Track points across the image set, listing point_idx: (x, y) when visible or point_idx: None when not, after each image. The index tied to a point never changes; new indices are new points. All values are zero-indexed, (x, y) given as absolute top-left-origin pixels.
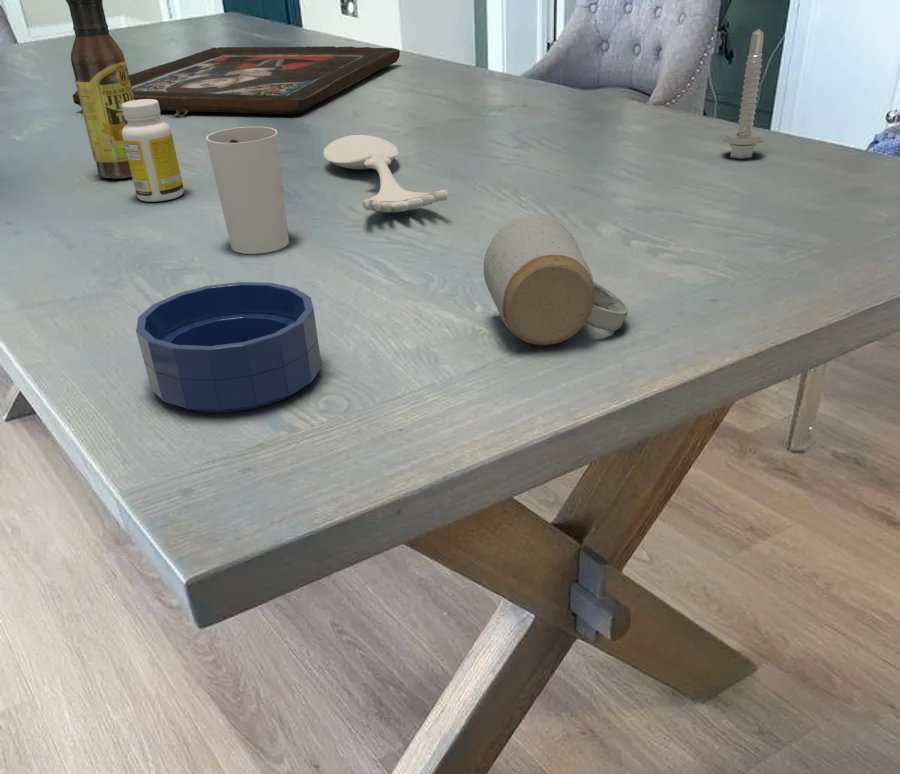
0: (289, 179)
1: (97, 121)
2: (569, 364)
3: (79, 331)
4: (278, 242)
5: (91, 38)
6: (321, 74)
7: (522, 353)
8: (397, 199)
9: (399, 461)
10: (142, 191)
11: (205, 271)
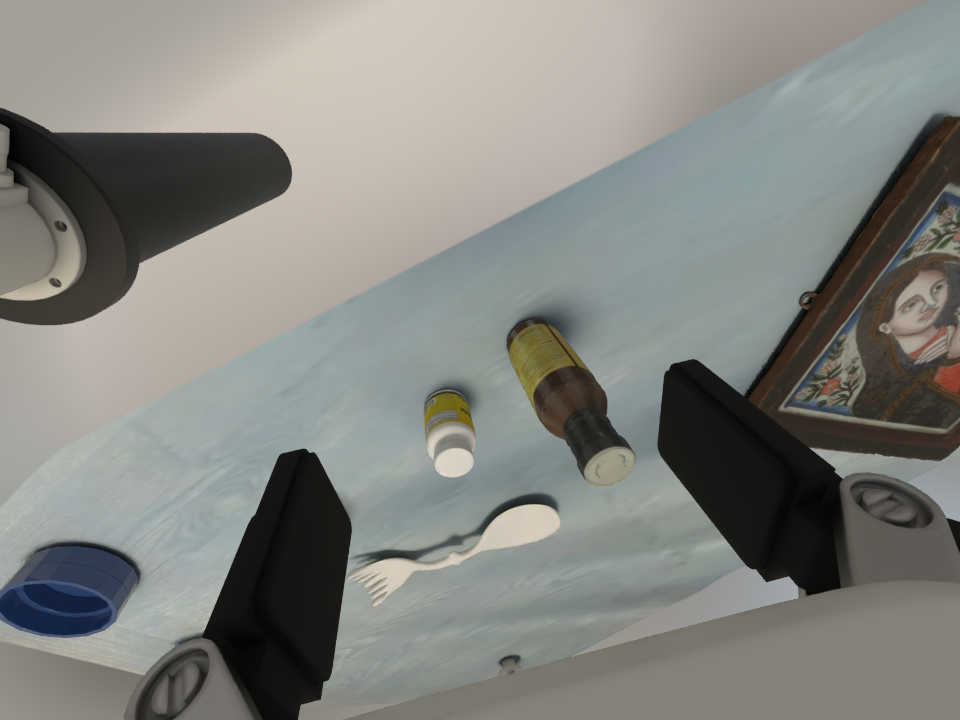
0: (492, 481)
1: (521, 369)
2: None
3: (108, 477)
4: None
5: (561, 432)
6: (878, 415)
7: (178, 644)
8: (396, 569)
9: (41, 637)
10: (425, 406)
11: (252, 502)
